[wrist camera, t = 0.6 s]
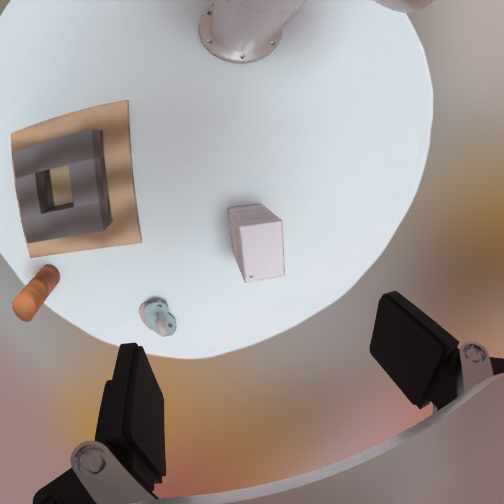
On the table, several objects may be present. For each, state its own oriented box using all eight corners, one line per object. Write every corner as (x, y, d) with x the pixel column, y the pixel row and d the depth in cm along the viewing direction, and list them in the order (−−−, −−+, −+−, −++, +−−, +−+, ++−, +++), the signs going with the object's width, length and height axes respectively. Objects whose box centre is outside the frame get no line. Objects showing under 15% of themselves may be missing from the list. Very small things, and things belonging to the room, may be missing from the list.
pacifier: (151, 333, 48) (179, 324, 49) (147, 355, 43) (178, 347, 43) (133, 302, 45) (163, 292, 46) (127, 323, 40) (159, 313, 40)
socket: (13, 133, 29) (-6, 134, 24) (128, 101, 33) (119, 94, 28) (32, 255, 38) (17, 269, 32) (141, 240, 42) (135, 255, 36)
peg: (39, 265, 38) (8, 298, 28) (56, 263, 39) (26, 297, 28) (46, 285, 40) (18, 321, 29) (62, 283, 41) (36, 321, 30)
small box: (265, 249, 47) (285, 277, 37) (232, 254, 46) (245, 285, 36) (262, 202, 44) (283, 220, 34) (227, 207, 43) (238, 226, 33)
